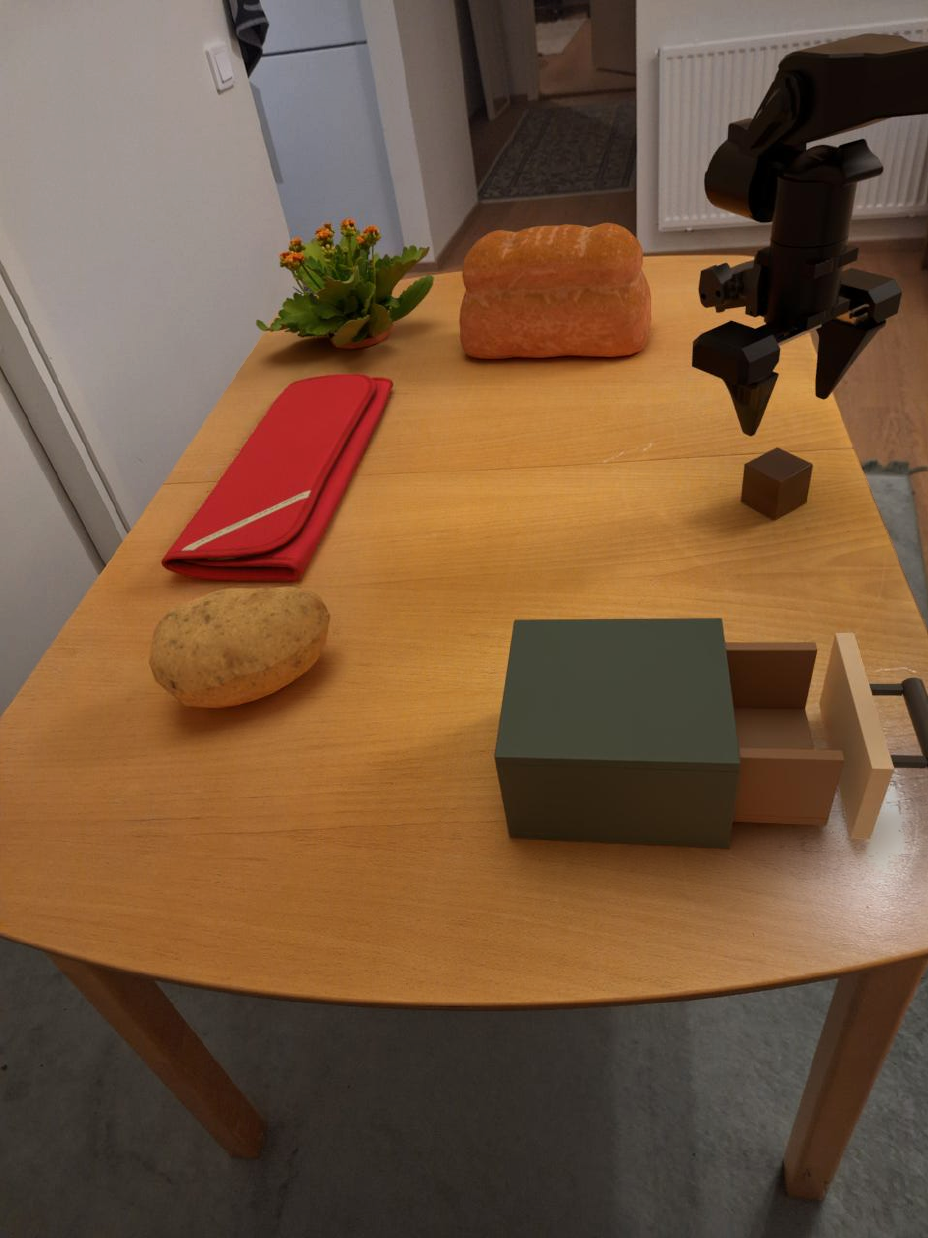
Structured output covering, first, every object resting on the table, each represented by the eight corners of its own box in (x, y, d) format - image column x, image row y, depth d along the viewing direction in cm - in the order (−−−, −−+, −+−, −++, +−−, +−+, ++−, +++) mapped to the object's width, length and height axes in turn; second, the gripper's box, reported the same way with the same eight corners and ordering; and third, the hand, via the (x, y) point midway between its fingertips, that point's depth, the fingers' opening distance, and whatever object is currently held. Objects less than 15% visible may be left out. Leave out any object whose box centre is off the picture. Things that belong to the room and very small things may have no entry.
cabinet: (713, 704, 62) (722, 617, 56) (729, 849, 53) (741, 763, 47) (525, 702, 65) (513, 619, 59) (509, 838, 56) (493, 757, 50)
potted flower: (349, 299, 139) (323, 188, 127) (470, 307, 128) (453, 187, 117) (259, 364, 124) (220, 245, 112) (387, 379, 113) (358, 249, 102)
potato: (197, 650, 76) (157, 572, 69) (347, 637, 74) (320, 555, 68) (164, 734, 68) (116, 654, 62) (330, 721, 66) (298, 638, 60)
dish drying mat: (397, 389, 110) (392, 363, 108) (306, 583, 81) (296, 554, 78) (290, 396, 114) (282, 371, 111) (166, 584, 84) (152, 556, 82)
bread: (478, 325, 123) (464, 218, 113) (654, 319, 115) (656, 205, 105) (455, 365, 113) (437, 253, 103) (645, 362, 106) (645, 241, 96)
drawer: (900, 705, 58) (923, 632, 54) (945, 843, 50) (977, 771, 45) (648, 701, 62) (649, 633, 57) (652, 830, 54) (653, 762, 49)
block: (772, 484, 82) (777, 446, 79) (807, 502, 79) (813, 463, 76) (740, 501, 81) (744, 463, 78) (774, 520, 78) (780, 481, 75)
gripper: (810, 187, 72) (788, 355, 82) (647, 250, 66) (646, 422, 76) (924, 208, 64) (884, 390, 74) (751, 281, 58) (735, 467, 68)
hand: (785, 415), depth 73 cm, fingers open, 9 cm apart
